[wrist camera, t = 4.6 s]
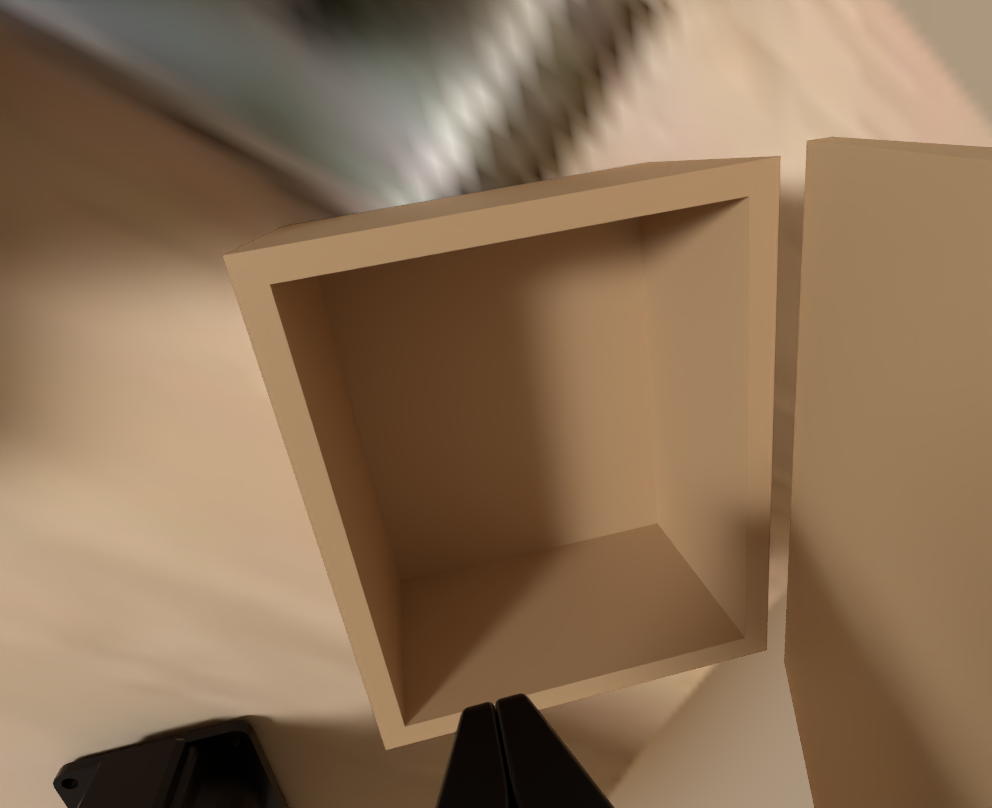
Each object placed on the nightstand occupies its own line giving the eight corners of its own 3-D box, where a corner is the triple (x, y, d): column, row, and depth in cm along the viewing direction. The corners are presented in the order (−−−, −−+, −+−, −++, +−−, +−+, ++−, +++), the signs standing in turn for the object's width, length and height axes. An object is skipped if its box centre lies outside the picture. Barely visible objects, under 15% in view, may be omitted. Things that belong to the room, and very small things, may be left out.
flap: (784, 661, 15) (801, 663, 15) (934, 1386, 6) (978, 1404, 6) (806, 140, 10) (833, 136, 10) (1494, 216, 2) (1708, 195, 2)
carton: (666, 524, 21) (766, 650, 15) (387, 590, 20) (385, 750, 14) (648, 162, 16) (780, 156, 11) (282, 226, 15) (222, 255, 10)
